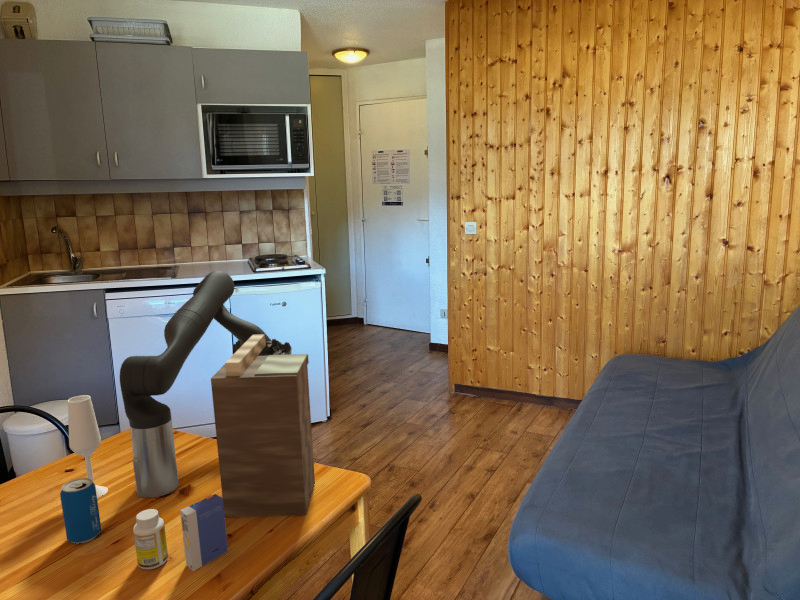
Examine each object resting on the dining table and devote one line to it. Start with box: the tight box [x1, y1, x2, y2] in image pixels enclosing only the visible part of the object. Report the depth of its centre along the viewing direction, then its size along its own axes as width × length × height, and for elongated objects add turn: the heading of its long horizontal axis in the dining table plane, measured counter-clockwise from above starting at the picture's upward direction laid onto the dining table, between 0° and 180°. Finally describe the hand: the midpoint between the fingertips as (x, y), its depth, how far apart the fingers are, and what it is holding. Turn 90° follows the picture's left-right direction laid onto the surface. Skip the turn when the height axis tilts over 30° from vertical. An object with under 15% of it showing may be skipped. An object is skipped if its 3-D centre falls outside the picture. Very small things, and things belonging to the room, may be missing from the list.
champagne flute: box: [67, 394, 109, 499], centre depth 141 cm, size 7×7×24 cm
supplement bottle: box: [132, 508, 169, 570], centre depth 115 cm, size 6×6×10 cm
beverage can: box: [59, 477, 102, 545], centre depth 124 cm, size 6×6×12 cm
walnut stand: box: [210, 353, 316, 519], centre depth 135 cm, size 16×18×32 cm
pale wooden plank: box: [224, 333, 266, 377], centre depth 137 cm, size 24×3×3 cm, turn 0°
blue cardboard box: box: [179, 493, 229, 572], centre depth 115 cm, size 8×3×12 cm, turn 139°
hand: (256, 343), depth 145 cm, fingers open, 8 cm apart
